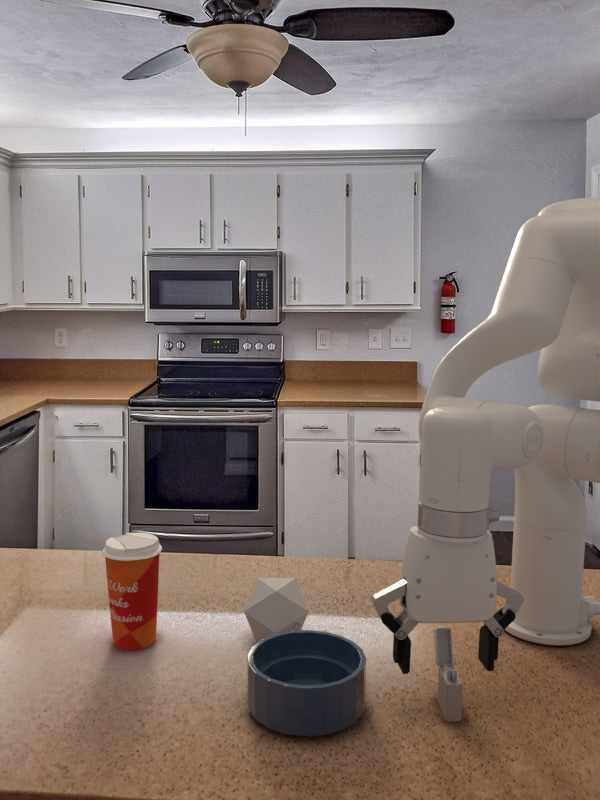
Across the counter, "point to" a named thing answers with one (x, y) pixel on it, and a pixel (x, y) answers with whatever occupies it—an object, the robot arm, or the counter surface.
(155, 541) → the paper cup
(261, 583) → the grey polyhedron
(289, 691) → the bowl
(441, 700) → the lighter
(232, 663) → the counter surface
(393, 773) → the counter surface
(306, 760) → the counter surface
